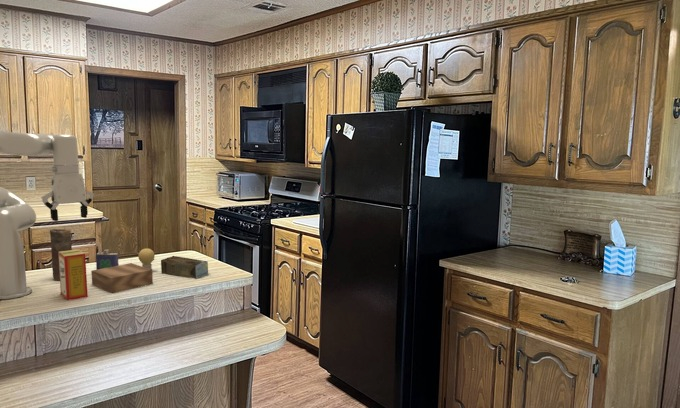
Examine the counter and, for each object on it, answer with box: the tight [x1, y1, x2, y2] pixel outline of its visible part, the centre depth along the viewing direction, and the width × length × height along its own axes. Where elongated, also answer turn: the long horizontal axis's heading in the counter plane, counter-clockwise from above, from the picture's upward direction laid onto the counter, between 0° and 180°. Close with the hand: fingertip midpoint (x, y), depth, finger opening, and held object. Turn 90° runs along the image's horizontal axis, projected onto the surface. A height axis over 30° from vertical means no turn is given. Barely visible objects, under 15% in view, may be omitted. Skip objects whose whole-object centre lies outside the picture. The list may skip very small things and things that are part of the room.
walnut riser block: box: [91, 262, 154, 294], centre depth 193 cm, size 16×16×6 cm
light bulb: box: [138, 248, 155, 271], centre depth 211 cm, size 6×6×10 cm
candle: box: [49, 228, 73, 281], centre depth 199 cm, size 8×7×20 cm
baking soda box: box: [58, 248, 89, 301], centre depth 178 cm, size 10×6×16 cm
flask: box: [95, 248, 120, 270], centre depth 206 cm, size 9×3×11 cm, turn 88°
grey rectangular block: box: [160, 255, 209, 280], centre depth 208 cm, size 8×19×7 cm, turn 65°
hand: (69, 218), depth 176 cm, fingers open, 9 cm apart
